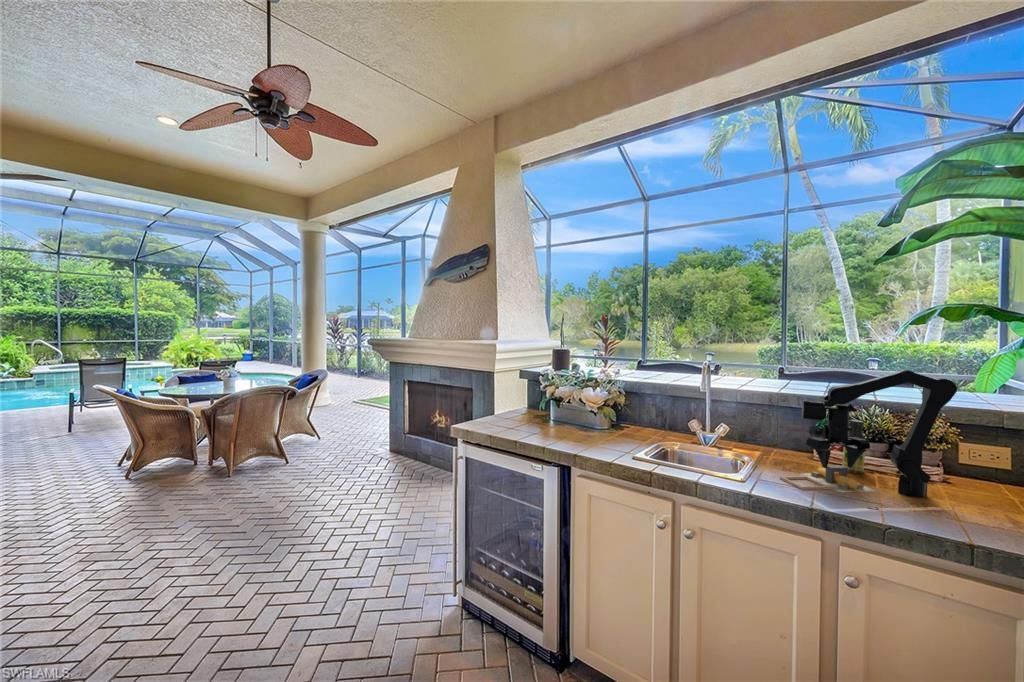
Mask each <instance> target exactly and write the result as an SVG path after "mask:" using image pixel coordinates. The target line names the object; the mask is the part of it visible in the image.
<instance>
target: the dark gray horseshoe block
mask: <svg viewBox="0 0 1024 682" xmlns="http://www.w3.org/2000/svg"><path fill="white" fill-rule="evenodd" d="M825 469H826V478H825V481H827V482H829V483H831V484H833V483H834V472H835V473H838V474H840V475H842V476H845V477H847V478H848V473H849V472H848V468H847V467H844V466H842V464H841V465H838V464H837V465H827V468H825Z"/></svg>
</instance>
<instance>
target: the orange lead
mask: <svg viewBox="0 0 1024 682" xmlns="http://www.w3.org/2000/svg"><path fill="white" fill-rule="evenodd" d="M816 472H817V473H820V476H822V477H825V478H826V468H823V467H818V468H817V469H816ZM834 482H836V483H843V484H846V485H848V488H850V489H856V488H857V487H858V483H859V482H857V481H856V480H854V479H851V478H850V477H848V476H847V477H845V476H842V475H840V474H839V473H838V472H834Z"/></svg>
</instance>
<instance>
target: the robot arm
mask: <svg viewBox="0 0 1024 682" xmlns="http://www.w3.org/2000/svg"><path fill="white" fill-rule="evenodd" d="M907 383H908V384H912V385H915V386H917V387H920V388H922V390H921V405H920V406H919V409H918V411H917V414H916V415H915V417H914V420H913V422H912V424H911V427H910V429H909V431H908V433H907V436H906V438H905V439H904V441H903V443H902V444H900V445H897V444H893V446H892V451H891V452H890V453H889V454H888V456H890V463H891V464H892V465H893V466H894V467H895V468H896V469H897V470H898V471H899V473H900V475H899V477H898V478H899V479H898V482H897V483H898V486H897V493H898V494H900V495H901V496H902V495H903V496H905V497H910V498H911V497H912V498H919V499H925V498H926V497H927V496H928V483H929V482H930V480H931V478H932V477H931V476H930V475H929V474H928V473H927V472H926V471H924V470H923V469H922V464H923V448H925V447H924V446H925V444H926V442H927V440H928V438H929V435H930V433H931V431H932V429H933V426H934V425H935V422H936V420H937V418H938V416H939V414H940V411H941V410H942V408H944V407H945V406H946V405H947V404H948V403H949V402H951V400H952V398H953V397H954V396H955V395H956V394H957V391H958V386H957V385H956V383H955V382H953V381H952V380H951V379H948V378H942V377H939V376H938V377H937V376H934V377H930V376H928V375H927V376H926V375H922V374H920V373H916V372H914V371H912V370H909V369H903V368H902V369H900V370H898V371H895V372H891V373H888V374H885V375H881V376H877V377H874V378H871V379H867V380H863V381H860V382H856V383H848V384H840V385H833V386H832V387H829V388H828V390H827V394H826V396H824V397H823V399H821V401H810V400H804V399H803V400H802V407H801V419H802V420H805V421H817V422H822V421H823V420H826V419H827V423H824V425H823V427H821V428H819V427H818V425H810V426H809V434H810V436H811V437H807V439H806V443H805V445H806V446H809V447H810V448H811V449H813V450H814V451H815V452H816V454H817V456H818V459H819V460H820V464H821V466H822V468H825V469H826V468H827V466H829V461H830V456H831V452H832V450H831V449H830V448H831V447H833V446H834V447H835V446H841V447H843V448H844V447H845V448H846V450H847V465H848V467H849V468H852V466H853V465H854V464H855V462H856V461H857V459H858V458H859V457H860V456H861V455H862V454H863V452H864V451H865V452H867V450H870V449H871V443H870V442H869V440H868V439H866V438H865V439H866V440H865V439H861V438H858V437H849V431H852V427H850V423H849V422H850V412H855V413H857V412H858V410H857V408H855V407H854V406H853V404H852V403H850V402H853V401H855V400H856V399H859V398H860V397H862V396H864V395H866V394H872V393H875V392H878V391H881V390H885V389H889V388H892V387H896V386H900V385H903V384H907Z"/></svg>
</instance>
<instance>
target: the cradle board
mask: <svg viewBox="0 0 1024 682" xmlns="http://www.w3.org/2000/svg"><path fill="white" fill-rule="evenodd" d="M800 476H808V477H810V478H812V479H814V480H817V481H819V482H821V483H823V484H826V485H828V486H830V487H831V490H835V491H837V493H838V492H839V493H871V492H872V493H876V492H878V491H877V490H875V489H872V488H870V487H867V486H866V485H864V484H862V483H859V482H857V483H858V487H857V488H856V489H850V488H848V485H846V484H843V483H836V482H834V483H833V484H831V483H829V482H827V481H825V477H822V476H820V473H817V471H811V473H800Z"/></svg>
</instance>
